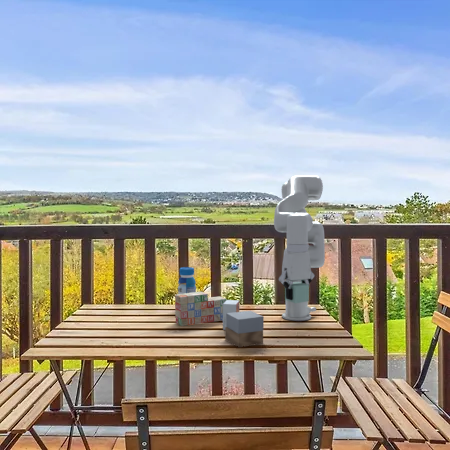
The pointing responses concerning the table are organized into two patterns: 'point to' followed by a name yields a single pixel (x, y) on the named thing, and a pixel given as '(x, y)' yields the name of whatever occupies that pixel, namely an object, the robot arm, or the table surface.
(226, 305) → the small box
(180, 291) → the beverage bottle
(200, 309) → the stack of blocks
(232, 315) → the grey block
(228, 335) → the walnut block
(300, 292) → the green cube
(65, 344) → the table surface
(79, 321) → the table surface
